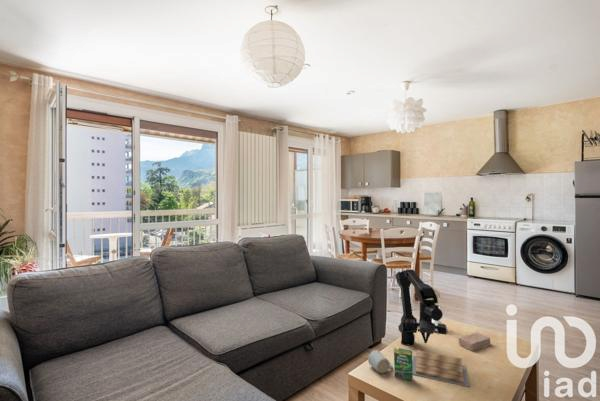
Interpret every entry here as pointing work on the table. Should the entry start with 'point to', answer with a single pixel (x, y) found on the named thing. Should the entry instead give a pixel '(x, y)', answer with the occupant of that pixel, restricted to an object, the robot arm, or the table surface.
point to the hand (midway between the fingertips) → (425, 343)
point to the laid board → (440, 373)
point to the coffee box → (403, 363)
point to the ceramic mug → (379, 362)
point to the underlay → (442, 379)
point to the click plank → (439, 361)
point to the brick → (474, 341)
